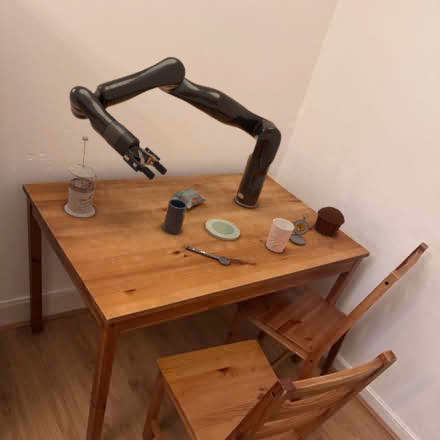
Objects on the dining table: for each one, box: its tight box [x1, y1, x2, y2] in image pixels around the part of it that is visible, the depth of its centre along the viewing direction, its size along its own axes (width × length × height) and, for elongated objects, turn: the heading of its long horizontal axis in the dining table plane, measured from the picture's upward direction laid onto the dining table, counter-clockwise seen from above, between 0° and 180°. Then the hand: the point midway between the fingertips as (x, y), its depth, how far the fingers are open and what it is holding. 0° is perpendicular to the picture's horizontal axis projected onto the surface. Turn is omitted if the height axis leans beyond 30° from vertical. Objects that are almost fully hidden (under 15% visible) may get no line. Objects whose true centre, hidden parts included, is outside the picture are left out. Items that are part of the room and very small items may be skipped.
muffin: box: [314, 206, 345, 237], centre depth 178 cm, size 12×11×10 cm
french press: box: [63, 135, 97, 218], centre depth 137 cm, size 10×12×25 cm
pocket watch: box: [289, 213, 310, 246], centre depth 165 cm, size 8×8×10 cm
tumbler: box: [162, 198, 188, 235], centre depth 146 cm, size 6×6×10 cm
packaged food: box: [171, 187, 208, 209], centre depth 165 cm, size 9×12×5 cm
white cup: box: [265, 217, 294, 253], centre depth 155 cm, size 8×8×10 cm
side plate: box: [204, 218, 241, 242], centre depth 157 cm, size 13×13×1 cm
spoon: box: [185, 245, 231, 266], centre depth 142 cm, size 4×16×1 cm, turn 78°
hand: (159, 175), depth 136 cm, fingers open, 8 cm apart
